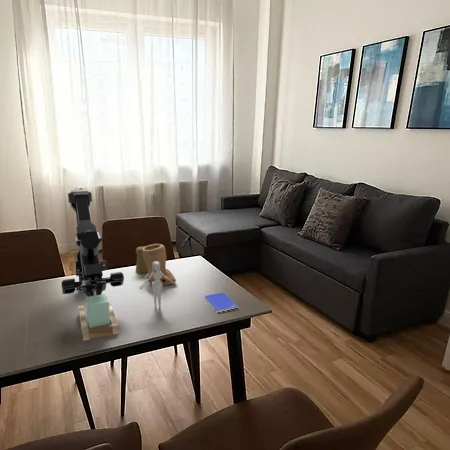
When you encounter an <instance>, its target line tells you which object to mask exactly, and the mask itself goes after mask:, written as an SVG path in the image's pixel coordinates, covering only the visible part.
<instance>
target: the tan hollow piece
mask: <svg viewBox="0 0 450 450" xmlns="http://www.w3.org/2000/svg"><path fill="white" fill-rule="evenodd" d="M143 247H144V248H143V249H142V253H143V258H144V260H145V262H146V264H147V266H148V269H149V272H147V277H148V278H149V276H150V275H151V273H152V263H153V262H155V261H158V262H160V271H161V272H162V273H163V274H164V276H167V277H168V278H169V279H170V280H171V281H172V282H173V283H176V282H177V279H176V277H175V276H174V274H173V272H171V270H169V269H168V268H166V265H167V251H166V247H165V245H164V244H162V243H153V244H149V245H145V246H143ZM161 276H162V278H161V279H160V281H161V283H162V286H167V285H169V286H170V285H171V284H173V283H172V282H171V281H170V280H168V279H167V278H165V277H164V276H163V275H161ZM149 281H151V284H152V283H153V282H155V279H154V278H153V276H152V277H151V278H150V279H149Z"/></svg>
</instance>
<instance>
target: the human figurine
mask: <svg viewBox="0 0 450 450" xmlns="http://www.w3.org/2000/svg"><path fill="white" fill-rule="evenodd" d="M161 275H163V276H164V274H163V273H162V272H161V271H160V262H158V261H155V262H153V263H152V273H151V275H150V276H149V277H148V278H147V279H145V281H144V283H143V284H142V285H141V286H140V287H139V290H140V291H141V290H142V289H143V288H144V286H145V285H147V283H148V282H149V281H150V278H151V277H152V276H153V278H154V279H155V282H153V283H152V282H151V289H152V294H153V295H154V297H153V304H154V309H156V310H157V308H158V311H159V312H160V313H163V311H162V309H161V303H162V302H161V300H162V293H163V285H162V283H161V281H160V279H161V278H162V276H161ZM164 277H165V278H167V279H168V280H170V279H169V278H168V277H167V276H164ZM170 281H171V280H170ZM171 282H172V281H171ZM172 284H173V282H172ZM157 301H158V306H157Z"/></svg>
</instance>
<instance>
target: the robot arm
mask: <svg viewBox="0 0 450 450" xmlns="http://www.w3.org/2000/svg"><path fill="white" fill-rule="evenodd" d="M67 199H68V203H69V204H70V208H71V209H72V210H73V212H74V213H75V216H76V217H75V218H76V233H74V239H75V241H74V242H75V245H76V246H78V247H79V250H78V252H77V255H76V258H75V259H76V260H74V270H75V276H76V277H78V281H76V279H75V278H68V279H67V278H66V279H63V280H62V281H61V291H62V295H68V294H69V295H71V294H74V293H75V292H76V290H80V291H81V294H83V295H84V294H85V295H86V297H89V296H95V295H102V293H103V291H106V288H107V284H110V286H111V287H113V288H115V287H120V286H123V285H124V281H125V277H124V273H123V272H122V271H118V272H111V273H110V275H109V277H107V276H106V277H103V272H104V271H108V269H109V268H108V267H109V266H108V260H107V259H104V260H100V256H99V252H100V244H101V242H103V238H102V235H101V234H100V232H99V231H97V227H96V225H95V224H94V223H93V222H92V219H91V214H90V212H91V211H90V205H91V202H93V196H92V192H91V191H88V189H72V190H70V192H68V193H67ZM94 290H95V291H96V292H95V293H94Z"/></svg>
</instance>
